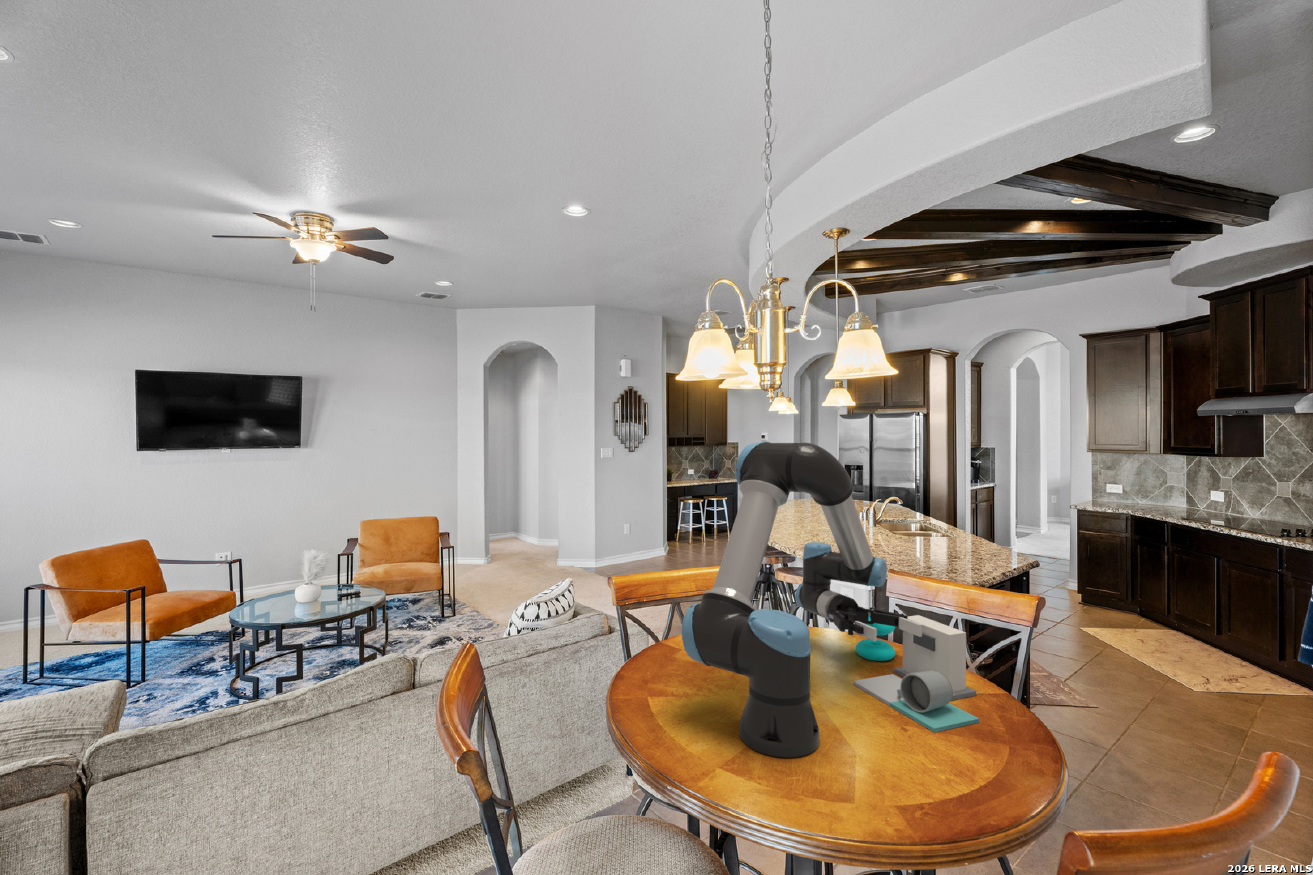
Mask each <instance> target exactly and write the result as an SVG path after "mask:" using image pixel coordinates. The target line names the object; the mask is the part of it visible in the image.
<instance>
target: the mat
mask: <svg viewBox="0 0 1313 875" xmlns="http://www.w3.org/2000/svg"><path fill="white" fill-rule="evenodd" d="M902 679H903V677H902V678H901V676H900V677H899V675H897V674H895V673H891V674H886V675H885V674H884V675H880V676H873V677H869V678H861V679H858V680H857V679H856V680H852V685H853V686H855V687H857V688H859V689H860V690H861V691H863V692H866V693H867V694H869V695H870V696H872V697H874V698H875V699H877V700H879V702H880V701H881V702H882V703H883V704H885V705H887V706H889V707H891V708H892V709H893V710H895V711H897V712H898V713H900V714H902V715H904V716H905V717H908V718H910V720H912V719H913V720H912V721H914V722H916V723H917V724H919V723H920V724H919V725H920V726H923V727H924V728H926V729H927V728H928V730H929V731H931V732H932V733H939V732H943V731H947V730H952V729H957V728H960V727H964V726H970V725H973V724H974V725H975V724H979V723H980V718H979V717H977V716H974V715H973V714H971V713H969V712H967V711H966V710H963V709H961V708H960V707H958V706H955V705H954V704H952V703H950V702H949V703H948V704H947V705H945V706H943V707H940V708H936V709H934V710H930V711H927V712H924V713H919V712H916V711H914V710H912V709H911V708H910V707H909V706H908V705H907V704H906V703H905V701H904V699H903V697H899V696H898V693H897V690H898V689H901V687H900V686H901V681H902Z"/></svg>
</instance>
